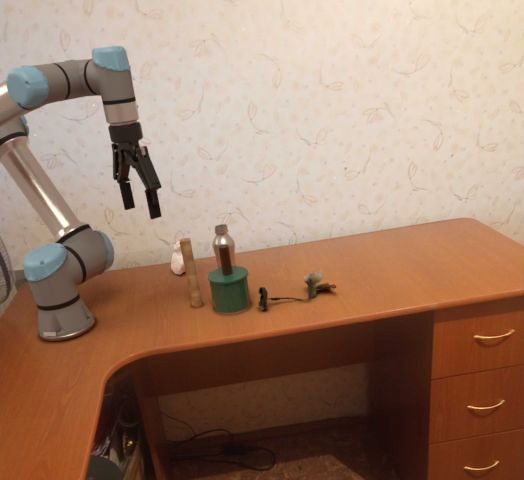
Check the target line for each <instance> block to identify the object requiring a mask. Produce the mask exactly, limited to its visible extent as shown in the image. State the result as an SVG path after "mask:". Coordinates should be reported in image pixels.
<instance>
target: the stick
mask: <svg viewBox="0 0 524 480" xmlns="http://www.w3.org/2000/svg"><path fill="white" fill-rule="evenodd" d="M179 241H180V247H181V252H182V257H183V262H184V267H185V272H184V273H185V277H186V282H187V286H188V292H189V297H190V302H191V306H193V307H199V306H201V305H202V304H203V301H202V295H201V289H200V285H199V280H198V279H199V278H198V273H197V267H196V263H195V259H194V258H195V257H194V252H193V247H192V241H191V238H190V237H184V238H183V237H182V238H181V239H179V240H178V242H179Z"/></svg>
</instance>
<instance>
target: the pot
mask: <svg viewBox="0 0 524 480" xmlns="http://www.w3.org/2000/svg"><path fill="white" fill-rule="evenodd" d="M209 286H210V292H211V298H212V304H213V308H214V310H215V311H216V312H218V313H221V314H234V313H238V312H242V311H244V310H246V309H248V308H249V307H250V305H251V295H250V289H249V281H248V276H247V277H246V278H244V279H243V280H240V281H238V282H234V283H229V284H215V283H212V282H210V281H209Z"/></svg>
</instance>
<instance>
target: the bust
mask: <svg viewBox="0 0 524 480" xmlns="http://www.w3.org/2000/svg"><path fill="white" fill-rule="evenodd" d="M173 249H174V252H173V253H172V256H171V263H170V269H171V271H172V272H173V273H174V274H175V275H178V276H181V275H182V274H183V273H186V272H185V267H184V262H183V257H182V252H181V247H180V241H179V240H178V241H176V243H175V244H173Z"/></svg>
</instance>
